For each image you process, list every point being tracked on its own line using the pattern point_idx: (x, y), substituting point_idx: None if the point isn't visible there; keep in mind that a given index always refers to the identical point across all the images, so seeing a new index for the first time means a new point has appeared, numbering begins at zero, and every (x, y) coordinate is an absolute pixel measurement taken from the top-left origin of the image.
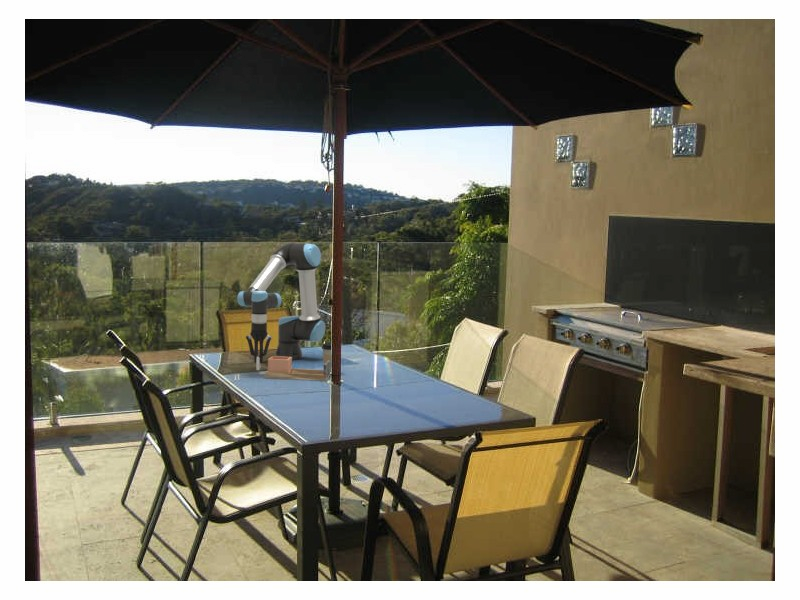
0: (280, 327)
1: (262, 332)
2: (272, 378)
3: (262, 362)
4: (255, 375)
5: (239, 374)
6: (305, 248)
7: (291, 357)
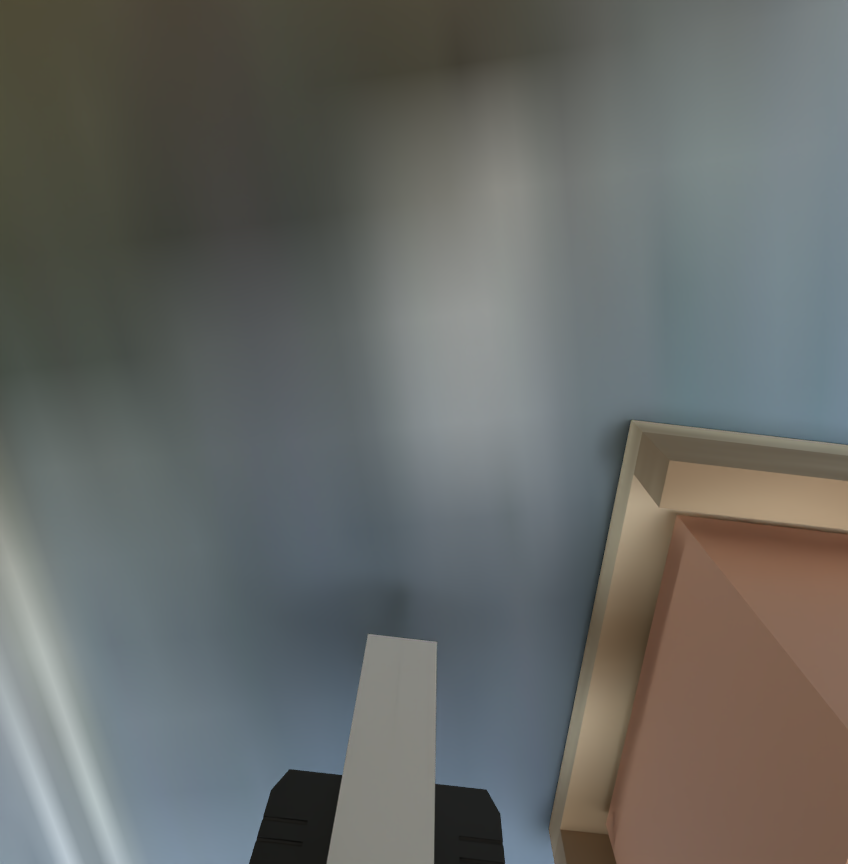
0: None
1: None
2: None
3: (490, 798)
4: (348, 631)
5: (31, 577)
6: None
7: None
